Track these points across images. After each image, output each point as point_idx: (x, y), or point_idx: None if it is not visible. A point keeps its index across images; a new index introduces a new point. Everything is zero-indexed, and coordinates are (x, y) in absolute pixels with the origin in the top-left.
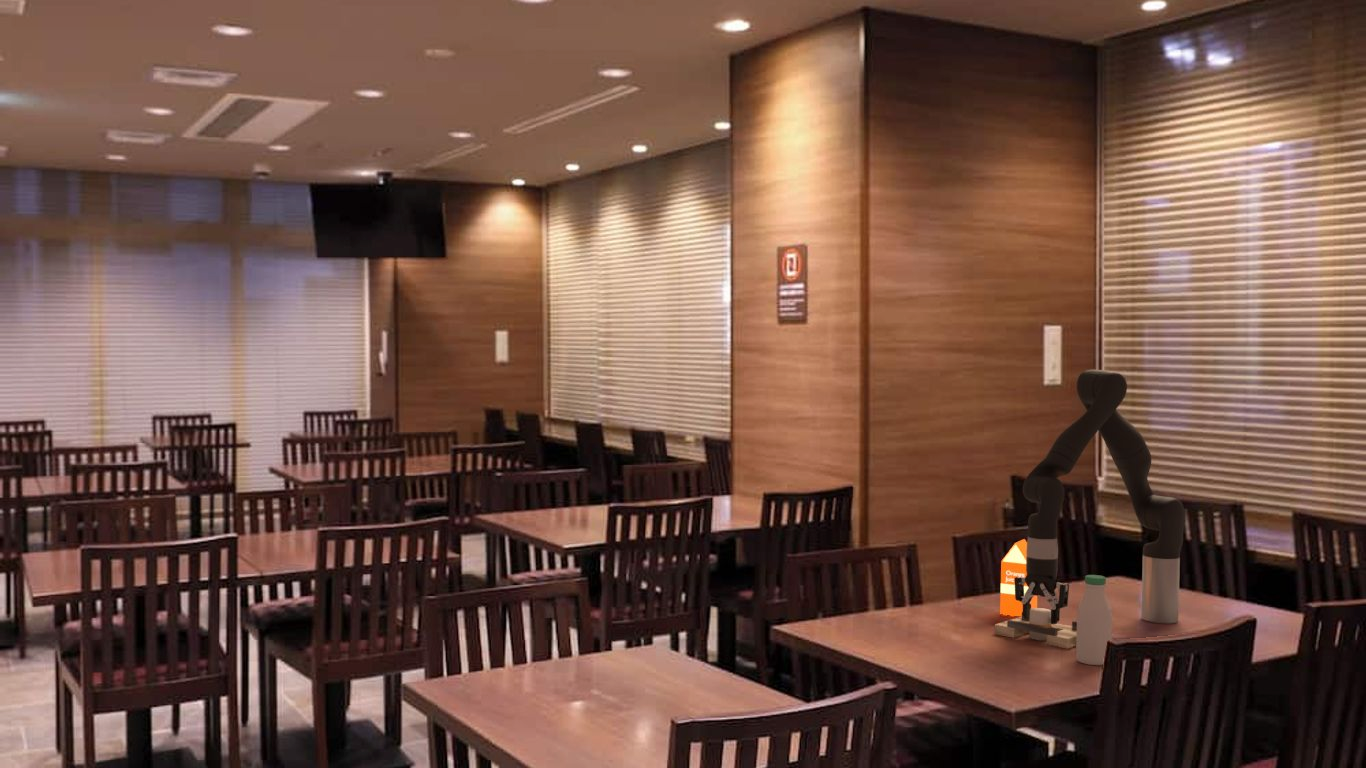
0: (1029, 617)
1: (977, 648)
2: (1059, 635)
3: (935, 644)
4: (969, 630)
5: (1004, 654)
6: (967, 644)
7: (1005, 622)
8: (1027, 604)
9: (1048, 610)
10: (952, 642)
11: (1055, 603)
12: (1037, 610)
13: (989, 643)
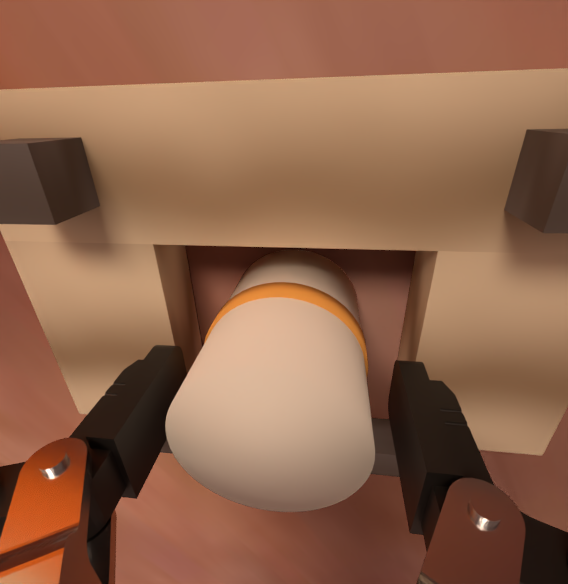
0: (179, 365)
1: (228, 547)
2: (469, 422)
3: (126, 559)
4: (10, 386)
5: (330, 562)
6: (175, 529)
7: (63, 343)
8: (122, 485)
9: (329, 420)
10: (132, 530)
11: (453, 555)
12: (252, 469)
13: (209, 493)
